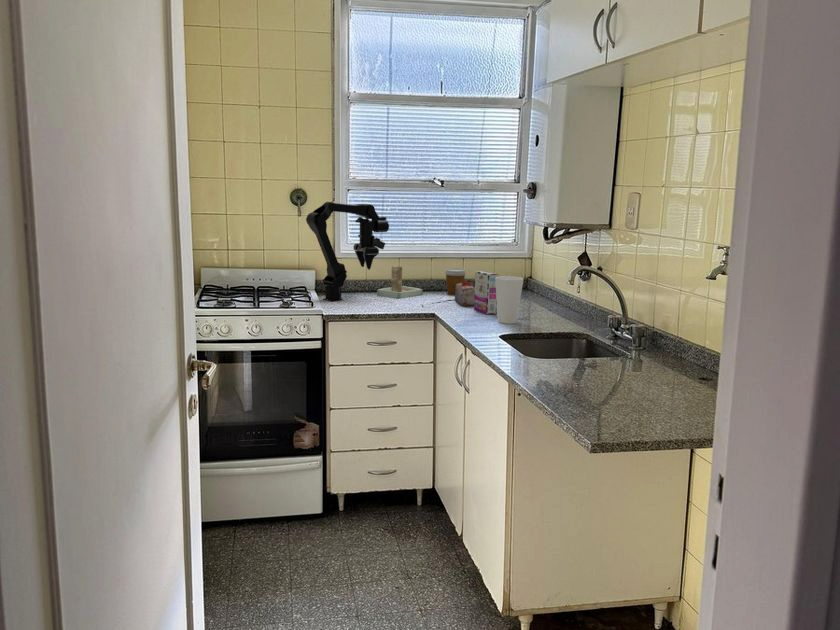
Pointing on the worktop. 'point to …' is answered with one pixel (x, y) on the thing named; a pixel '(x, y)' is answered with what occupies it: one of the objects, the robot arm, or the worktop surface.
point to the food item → (465, 294)
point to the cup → (508, 298)
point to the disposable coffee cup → (454, 279)
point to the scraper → (396, 279)
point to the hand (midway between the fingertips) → (365, 268)
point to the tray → (410, 293)
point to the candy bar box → (485, 292)
